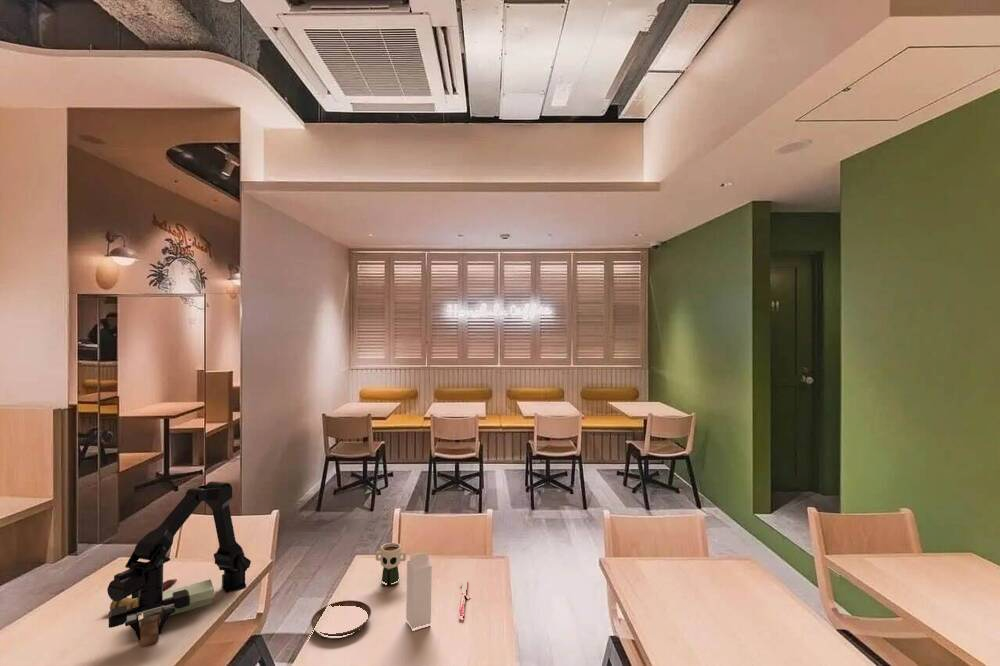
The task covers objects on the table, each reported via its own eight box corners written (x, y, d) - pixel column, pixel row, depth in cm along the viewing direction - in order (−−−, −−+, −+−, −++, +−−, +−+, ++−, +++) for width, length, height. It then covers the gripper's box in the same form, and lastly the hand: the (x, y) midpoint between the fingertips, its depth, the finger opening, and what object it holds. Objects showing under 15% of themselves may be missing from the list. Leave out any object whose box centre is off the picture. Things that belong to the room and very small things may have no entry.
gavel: (164, 571, 173) (189, 574, 172) (163, 585, 173) (188, 587, 172) (109, 599, 152) (138, 602, 151) (108, 614, 152) (137, 617, 151)
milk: (430, 627, 148) (432, 555, 148) (411, 632, 145) (413, 559, 145) (423, 616, 154) (425, 547, 154) (405, 621, 151) (407, 551, 151)
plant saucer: (300, 643, 140) (300, 632, 140) (323, 608, 158) (323, 599, 158) (361, 644, 140) (361, 634, 140) (377, 609, 157) (377, 600, 157)
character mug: (372, 587, 170) (373, 550, 170) (377, 577, 177) (378, 542, 177) (403, 588, 170) (404, 551, 170) (407, 578, 177) (407, 542, 177)
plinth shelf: (210, 600, 161) (210, 579, 161) (213, 610, 155) (214, 588, 155) (143, 619, 149) (143, 596, 149) (144, 631, 144) (144, 607, 144)
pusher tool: (164, 616, 150) (164, 597, 150) (157, 642, 138) (157, 621, 138) (148, 620, 148) (148, 601, 148) (140, 646, 136) (140, 625, 136)
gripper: (186, 563, 151) (185, 612, 151) (109, 581, 139) (108, 635, 139) (190, 577, 142) (189, 630, 142) (109, 598, 131) (108, 655, 130)
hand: (149, 637), depth 139 cm, fingers closed on pusher tool, 4 cm apart
